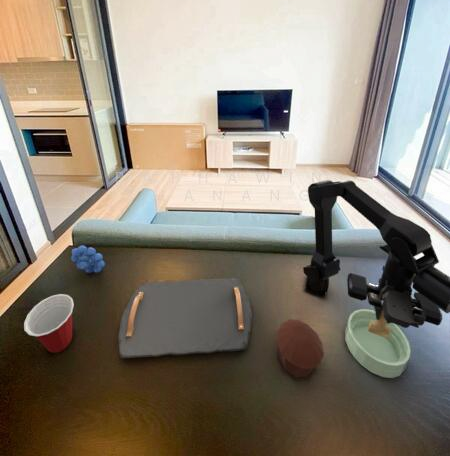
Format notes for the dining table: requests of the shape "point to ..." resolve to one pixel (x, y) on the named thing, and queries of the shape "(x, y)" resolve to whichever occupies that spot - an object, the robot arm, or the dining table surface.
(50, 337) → the plastic cup
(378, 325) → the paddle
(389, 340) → the bowl
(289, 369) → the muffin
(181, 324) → the serving tray
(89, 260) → the grapes
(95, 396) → the dining table surface
